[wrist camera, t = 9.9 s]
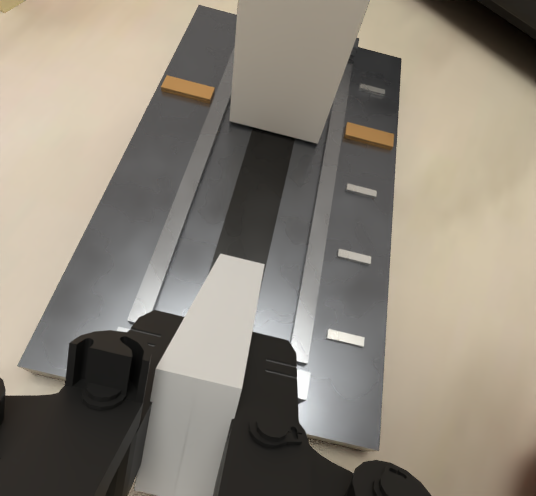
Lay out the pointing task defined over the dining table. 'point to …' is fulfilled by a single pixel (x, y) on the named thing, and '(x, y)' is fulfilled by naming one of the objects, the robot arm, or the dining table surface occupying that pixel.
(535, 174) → the dining table surface
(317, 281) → the console
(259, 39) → the fader tab
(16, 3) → the milk carton
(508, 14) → the radio receiver
